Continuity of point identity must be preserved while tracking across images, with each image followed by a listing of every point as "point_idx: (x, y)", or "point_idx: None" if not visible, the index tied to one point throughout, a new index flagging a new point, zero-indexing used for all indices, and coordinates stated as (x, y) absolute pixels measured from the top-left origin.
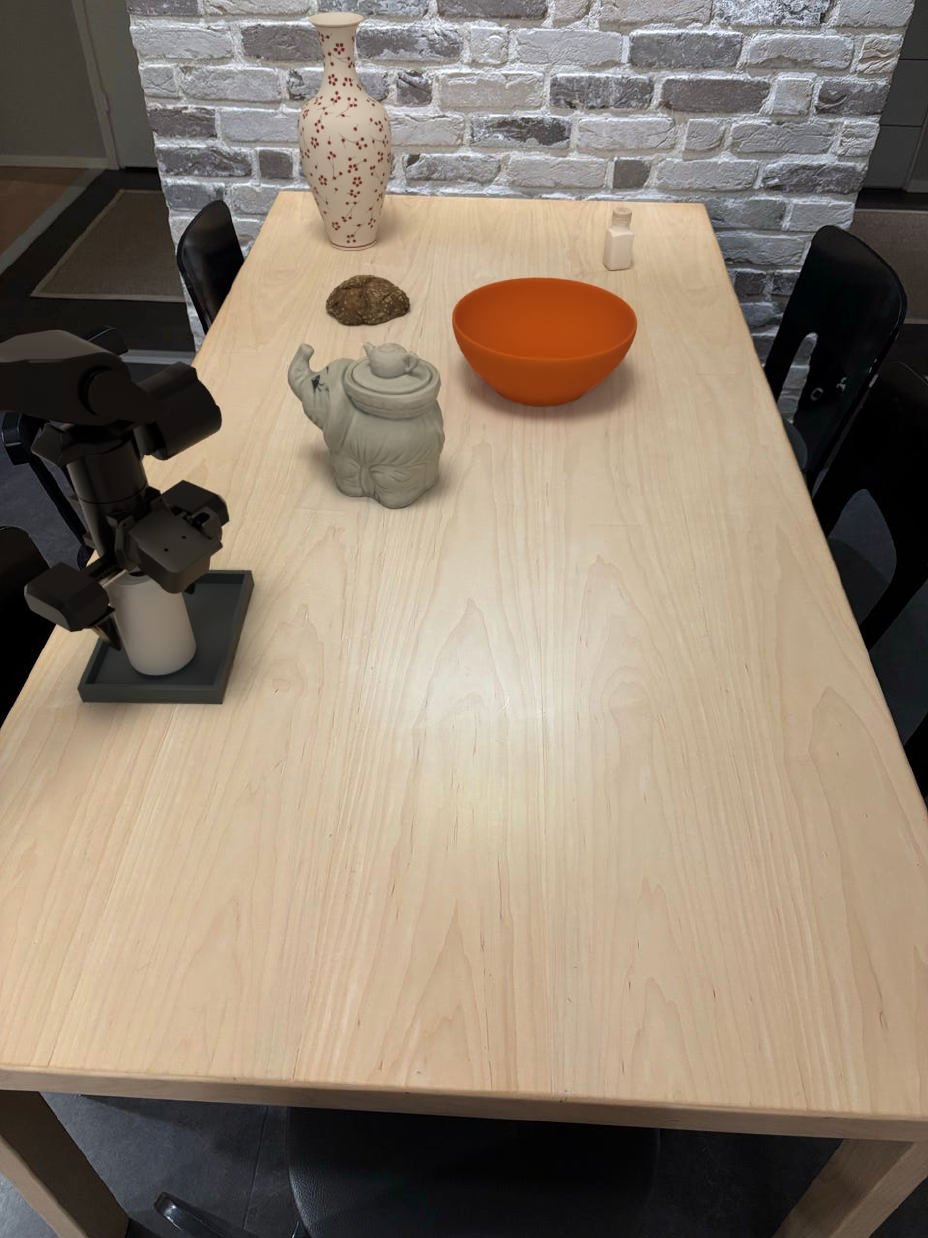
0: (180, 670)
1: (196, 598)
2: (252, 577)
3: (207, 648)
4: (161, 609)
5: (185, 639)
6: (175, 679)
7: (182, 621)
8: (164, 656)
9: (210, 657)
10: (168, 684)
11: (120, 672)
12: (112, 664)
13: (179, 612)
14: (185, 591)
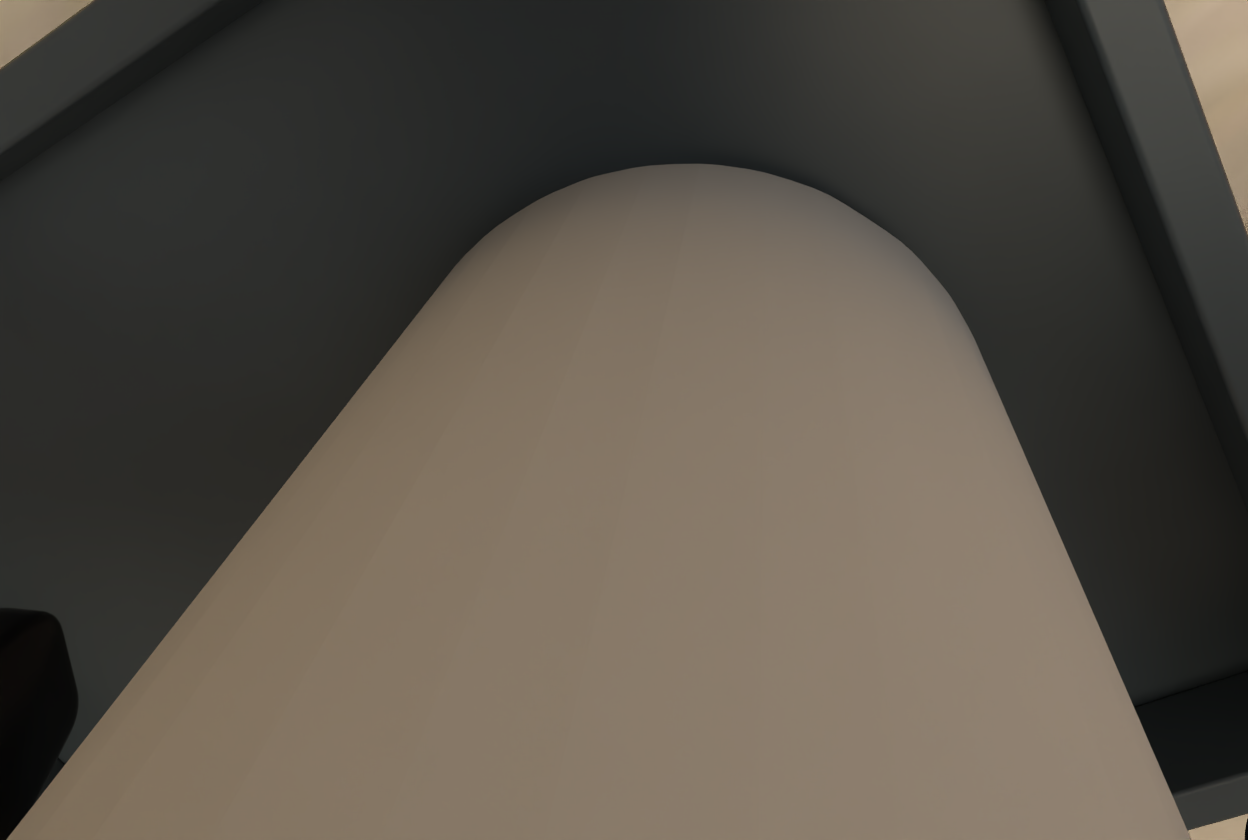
0: None
1: (91, 607)
2: None
3: (411, 174)
4: (833, 780)
5: (592, 254)
6: (868, 163)
7: (490, 378)
8: (907, 310)
9: (477, 68)
10: (952, 176)
11: None
12: None
13: (447, 477)
14: (70, 699)
